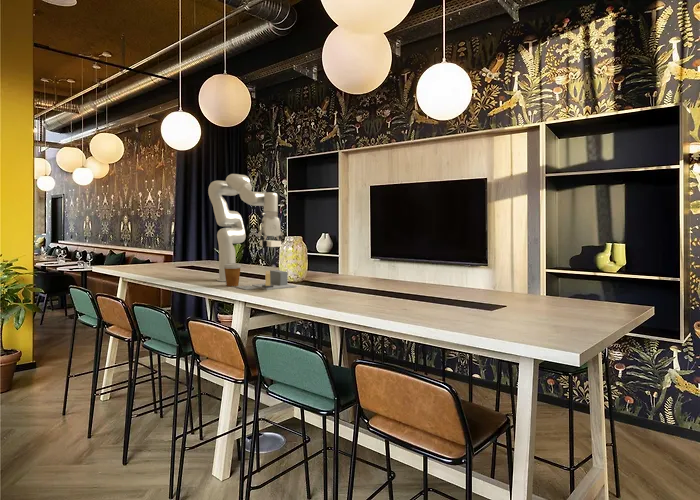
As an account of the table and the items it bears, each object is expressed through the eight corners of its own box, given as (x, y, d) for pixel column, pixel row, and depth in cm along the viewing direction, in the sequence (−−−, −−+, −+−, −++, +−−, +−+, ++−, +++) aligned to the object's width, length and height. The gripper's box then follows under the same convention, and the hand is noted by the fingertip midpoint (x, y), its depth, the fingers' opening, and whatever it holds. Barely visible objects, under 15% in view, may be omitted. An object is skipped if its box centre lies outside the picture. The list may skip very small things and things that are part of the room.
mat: (235, 287, 250) (235, 286, 250) (249, 285, 255) (249, 285, 255) (245, 290, 240) (245, 289, 240) (260, 288, 245) (260, 288, 245)
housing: (251, 286, 255) (251, 271, 255) (280, 283, 266) (280, 269, 266) (266, 289, 241) (266, 274, 241) (296, 287, 252) (296, 272, 252)
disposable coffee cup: (243, 284, 260) (243, 263, 259) (238, 287, 250) (237, 265, 250) (227, 284, 261) (227, 263, 260) (220, 286, 251) (220, 264, 251)
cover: (260, 245, 257) (260, 240, 257) (270, 245, 261) (270, 240, 261) (271, 247, 248) (271, 241, 248) (281, 246, 252) (281, 241, 252)
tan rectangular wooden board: (265, 287, 235) (265, 273, 235) (265, 283, 249) (265, 271, 248) (270, 287, 236) (270, 273, 235) (270, 283, 249) (270, 271, 249)
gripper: (260, 214, 245) (259, 248, 246) (287, 215, 256) (287, 247, 257) (253, 214, 251) (253, 247, 252) (280, 215, 262) (280, 247, 263)
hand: (270, 247), depth 255 cm, fingers closed on cover, 6 cm apart
